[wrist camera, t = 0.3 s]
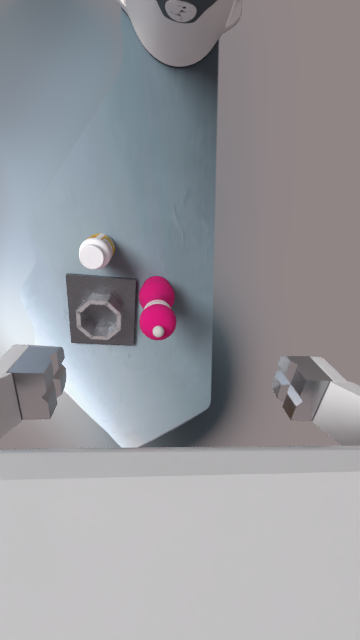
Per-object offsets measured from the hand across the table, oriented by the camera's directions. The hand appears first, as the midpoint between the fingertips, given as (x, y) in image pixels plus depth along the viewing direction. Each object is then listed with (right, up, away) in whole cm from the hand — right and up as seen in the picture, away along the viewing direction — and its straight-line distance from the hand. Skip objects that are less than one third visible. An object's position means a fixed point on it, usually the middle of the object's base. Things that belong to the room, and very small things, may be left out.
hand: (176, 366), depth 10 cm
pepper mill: (-5, +8, +47) cm, 48 cm away
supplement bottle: (-16, +16, +42) cm, 48 cm away
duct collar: (-17, +4, +48) cm, 51 cm away
